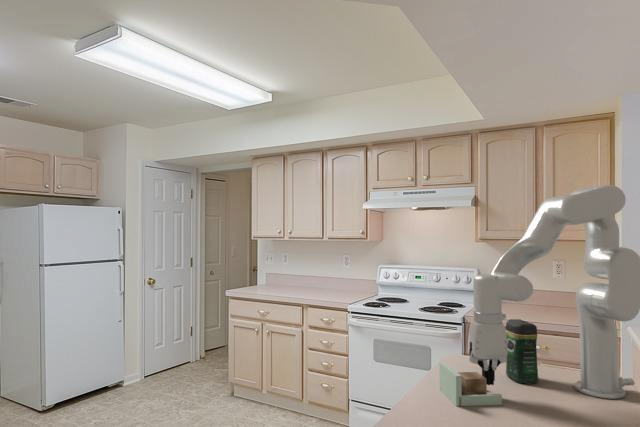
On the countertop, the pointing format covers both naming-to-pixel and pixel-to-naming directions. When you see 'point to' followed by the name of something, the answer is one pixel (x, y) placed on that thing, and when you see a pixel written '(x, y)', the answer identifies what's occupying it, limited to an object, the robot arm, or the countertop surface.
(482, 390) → the walnut block
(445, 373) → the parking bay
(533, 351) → the coffee jar
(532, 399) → the countertop surface
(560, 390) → the countertop surface
